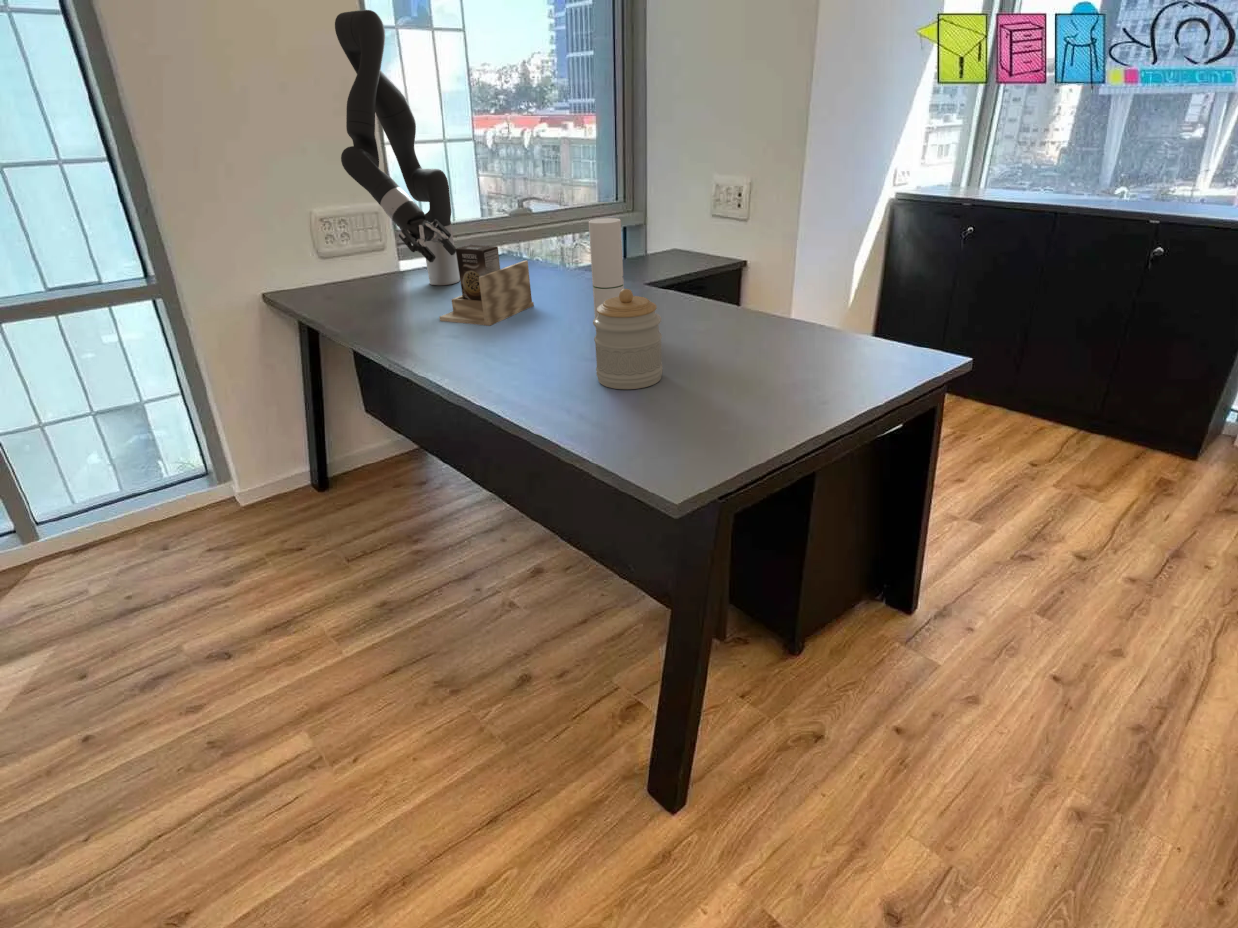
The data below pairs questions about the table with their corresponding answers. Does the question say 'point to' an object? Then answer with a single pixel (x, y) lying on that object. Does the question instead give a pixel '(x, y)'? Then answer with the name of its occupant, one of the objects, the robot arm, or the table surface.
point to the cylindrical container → (606, 259)
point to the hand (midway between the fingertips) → (444, 256)
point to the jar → (628, 342)
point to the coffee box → (475, 267)
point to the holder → (495, 297)
